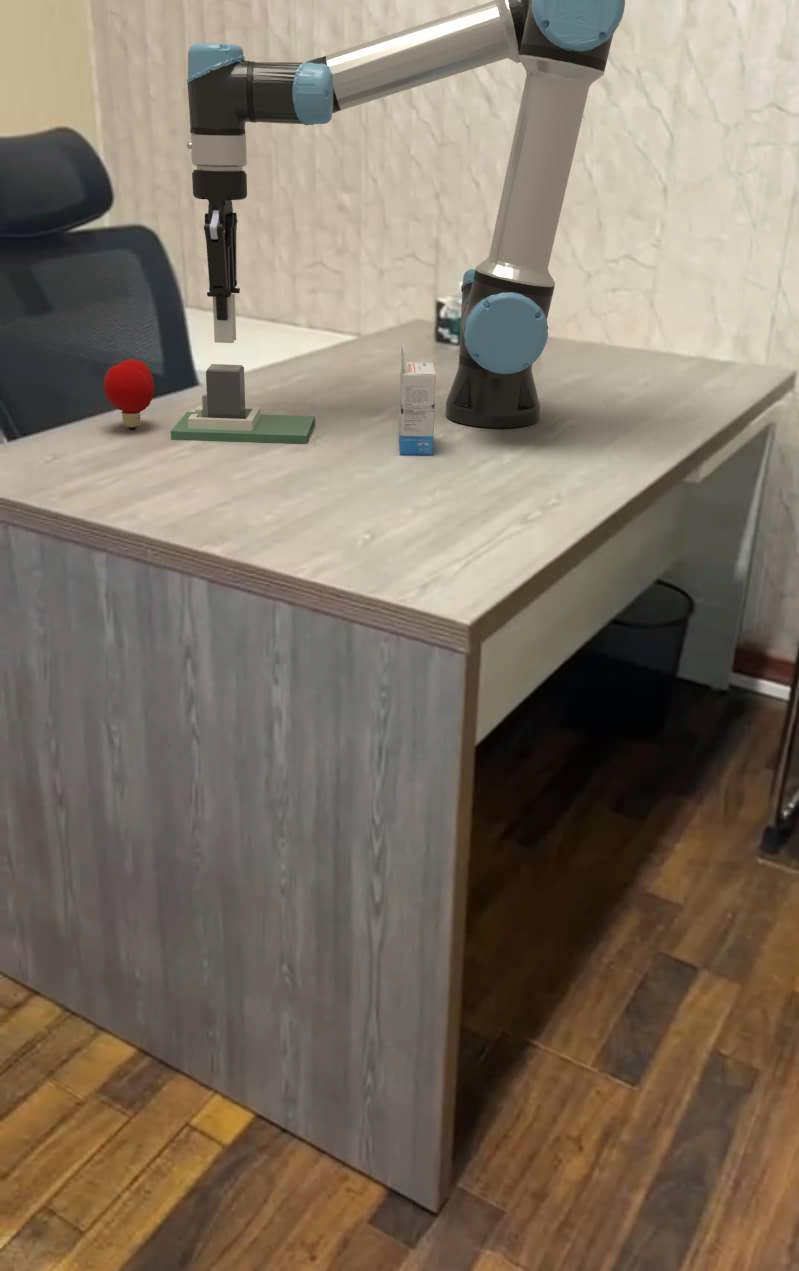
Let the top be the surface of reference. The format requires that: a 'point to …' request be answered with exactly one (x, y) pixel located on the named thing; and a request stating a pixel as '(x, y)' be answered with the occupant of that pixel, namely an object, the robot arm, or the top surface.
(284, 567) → the top surface
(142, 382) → the light bulb
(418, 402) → the ink box
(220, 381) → the plug
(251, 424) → the board
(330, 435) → the top surface
